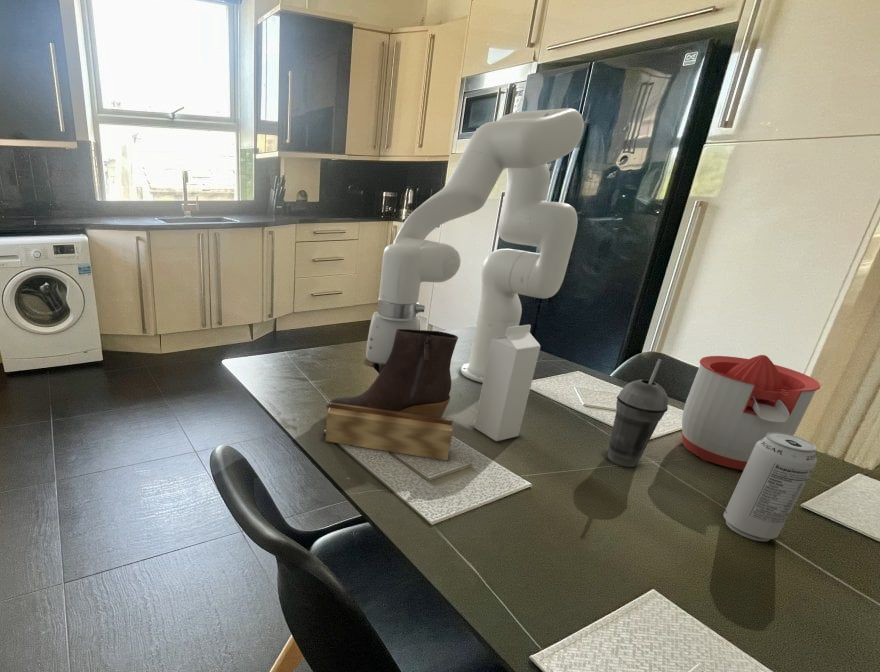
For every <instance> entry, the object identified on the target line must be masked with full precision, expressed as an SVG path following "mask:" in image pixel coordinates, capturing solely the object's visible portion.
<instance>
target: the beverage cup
mask: <svg viewBox="0 0 880 672" xmlns="http://www.w3.org/2000/svg"><path fill="white" fill-rule="evenodd" d="M661 363H662V359H661V358H658V359H657V361H656V363H655V366H654V369H653V371H652V373H651V376H650V379H637V380H633V381H631V382H628V383H627V384H626V385H624V386H623V387H622V389H621V390H620V391H619V393H618V395H617V396H616V399H617V400H616V404H615V408H616V412H615V416H614V420H613V426H612V431H611V435H610V440H609V445H608V453H607V459H609V460H610V461H611V462H612V463H615V464H616V465H620V466H623V467H627V468H633V467H636V466H638V463H639V461H640V460H641V458H642V457H643V456H642V455H643V454H644V452H645V450H646V449H647V446H648V444H649V442H650V441H651V438H652V436H653V434H654V433H655V430H656V428H657V426H658V424H659V422H660V421H661V420H662V418H663V417H664V416H665V413H666V412H667V411H668V410H669V408H668V407H669V397H668V394H667V392H666V390H665V389H664V388H663V387H662V386H661V385H660V384H659V383H657V382H655V381H654V380H655V378H656V375H657V372H658V370H659V368H660V365H661Z"/></svg>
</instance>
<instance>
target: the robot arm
mask: <svg viewBox="0 0 880 672" xmlns="http://www.w3.org/2000/svg"><path fill="white" fill-rule="evenodd" d="M584 122H585V121H584V117H583V116H582V114H581V112H579V111H578V110H577V109H575V108H570V107H565V108H552V109H537V110H524V111H523V110H522V111H517V112H511V113H508V114H505V115H503V116H502V117H500V118H498V120H495V121H489V122H485V123H484V124H482V125H480V126H479V127H478V128H477V129H476V130H475V131H474V132H473V133H472V135H471V137H470V139H469V141H468V143H467V145H466V146H465V148H464V149H463V152H462V154H461V156H460V158H459V159H458V161H457V163H456V164H455V166H454V169H453V170H452V172H451V174H450V176H449V177H448V179H447V182H446V183H445V185H444V186H443V187H442V188H441V189H440V190H439V191H438V192H436V193H434V194H433V195H432V196H430V197H429V198H428V199H426V200H425V201H424V202H422V203H421V204H420V205H419V206H418V207H416V208H415V209H414V210H413V211H412V212H411V213H410V214H409V215H408V216H407V217H406V219H405V220H404V222H403V224H402V225H401V227H400V229H399V230H398V233H397V234H396V236H395V238H394V240H393V243H391V244H388V245H387V246H386V247H385V248H384V250H383V255H382V262H381V272H380V280H379V281H380V282H379V291H378V301H377V308H376V309H377V310H376V311H374V312H373V314H372V316H371V320H370V325H369V330H368V335H367V341H366V349H365V358H364V360H363V364H364V365H365V366H367V367H369V368H374V370H375V371H376V372H377V373H378V375H379V374H380V372H381V371H382V369H383V368H384V366H385V364H386V362H387V360H388V358H389V356H390V353H391V351H392V348H393V344H394V340H395V335H396V331H397V329H410V330H421V321H420V320H421V319H420V316H419V315H418V314H420V313H425V308H426V305H424V304H423V305H422V304H420V303H419V302H418V301H419V295H420V289H421V283H437V284H438V283H444V282H446V281H449V280H451V279H452V278H454V276H456V274H457V273H458V272H459V270H460V266H461V256H460V253H459V251H458V249H457V248H455V247H454V246H452V245H450V244H448V243H444V242H438V241H434V240H433V241H432V240H427V239H426V238H427V237H428V236H429V234H431V232H432V231H434V230H435V229H436V228H438V227H439V226H441V225H443V224H445V223H447V222H450V221H453V220H456V219H459V218H462V217H465V216H467V215H470V214H473V213H475V212H477V211H479V210H481V209H482V208H483V207H484V205H485V204H486V202H487V200H488V199H489V196H490V194H491V193H492V191H493V189H494V188H495V186H496V184H497V182H498V180H499V178H500V176H501V175H502V173H503V171H505V169H506V185H505V186H506V188H505V191H504V196H503V201H502V206H501V211H500V216H499V220H498V227H497V233H498V236H499V238H500V239H501V240H502V241H504V242H507V243H510V244H516V245H522V246H529V247H537V248H539V252H531V251H529V250H528V251H527V250H520V249H513V248H500V249H495V250H494V251H491V252H490V253H489V254H487V256H486V257H485V258H484V260H483V263H482V267H481V293H480V294H481V295H480V302H479V307H478V313H477V317H476V322H475V329H474V333H473V339H472V345H471V350H470V355H469V360H468V362H467V363H464V364H463V365H461V368H460V372H461V374H462V375H463V376H464V377H466V378H467V379H469V380H472V381H473V382H478V383H482V384H483V379H484V375H485V370H486V365H487V360H488V355H489V350H490V345H491V340H492V339H495V338H498V337H501V336H505V335H506V331H507V328H508V327H515V326H520V322H521V318H522V311H523V308H522V303H521V299H520V297H519V295H522V296H526V297H531V298H536V299H549V298H552V297H553V296H555V295H556V294H557V293H558V292H559V290H561V289H560V288H561V287H562V285H563V282H564V279H565V277H566V273H567V268H568V264H569V260H570V257H571V253H572V251H573V245H574V243H575V238H576V235H577V230H578V213H577V211H576V208H575V207H574V206H572V205H570V204H569V203H566V202H559V201H547V197H548V191H549V186H550V182H551V172H550V169H549V165H548V164H549V163H551V162H553V161H556V160H558V159H561V158H564V157H565V156H567V155H569V154H571V152H573V151H574V150H575V148H576V147H577V146H578V145H579V143H580V141H581V139H582V137H583V135H584V130H585V124H584Z"/></svg>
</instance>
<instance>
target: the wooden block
mask: <svg viewBox="0 0 880 672" xmlns="http://www.w3.org/2000/svg"><path fill="white" fill-rule="evenodd" d="M329 402H330V401H329ZM453 422H454V421H453V419H452V418H445V417H441V418H439V417H432V416H425V415H418V414H411V413H403V412H396V411H389V410H382V409H375V408H368V407H361V406H353V405H346V404H339V403H332V402H330V408H329V410H328V413H327V414H326V424H325V425H326V426H325V427H326V428H325V439H324V440H325V442H328V443H333V444H334V443H336V444H341V445H347V446H354V447H358V448H359V447H360V448H367V449H373V450H379V451H385V452H391V453H397V454H404V455H410V456H416V457H423V458H429V459H433V460H435V459H436V460H442V461H448V459H449V453H450V448H451V444H452V443H451V442H452V438H453V432H454V429H453Z"/></svg>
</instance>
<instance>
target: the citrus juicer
mask: <svg viewBox="0 0 880 672" xmlns="http://www.w3.org/2000/svg"><path fill="white" fill-rule="evenodd" d="M820 389H821V384H820V382H819V381H818V380H816V379H815V378H813V377H811V376H809V375H807V374H805V373H802V372H800V371H796V370H794V369H792V368H788V367H785V366H781V365H779V364H778V365H777V364H775V363H774V362H773V361H772V360H771V359H770V357H768V356H767V355H766V354H759V355H756V356H753V357H750V358H743V357H738V356H730V355H729V356H728V355H710V356H709V355H708V356H703V357H702V358H701V359H699V367H698V369H697V372H696V374H695V377H694V380H693V382H692V384H691V386H690V390H689V392H688V394H687V395H688V396H687V398H686V401H685V404H684V407H683V410H682V411H683V412H682V418H681V430H680V431H681V432H680V433H681V440H682V444H683V447H685V449H687V450H688V451H689V452H691V453H692V454H694V455H695V456H697V457H699V458H700V459H701V460H703V461H704V462H708V463H713V464H715V465H719V466H722V467H726V468H730V469H735V470H741V471H744V469H745V466H746V464H747V462H748V460H749V458H750V456H751V453H752V451H753V449H754V447H755V445H756V443H757V442H758V441H759V440H761V439H763V438H765V437H766V435H767V433H770V432H779V433H785V434H789V435H793V436H795V434H796V432H797V430H798V428H799V426H800V424H801V421H802V420H803V418H804V415H805V414H806V412H807V410H808V408H809V406H810V404H811V402H812V400H813V398H814V396H815V393H816V391H818V390H820Z"/></svg>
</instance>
